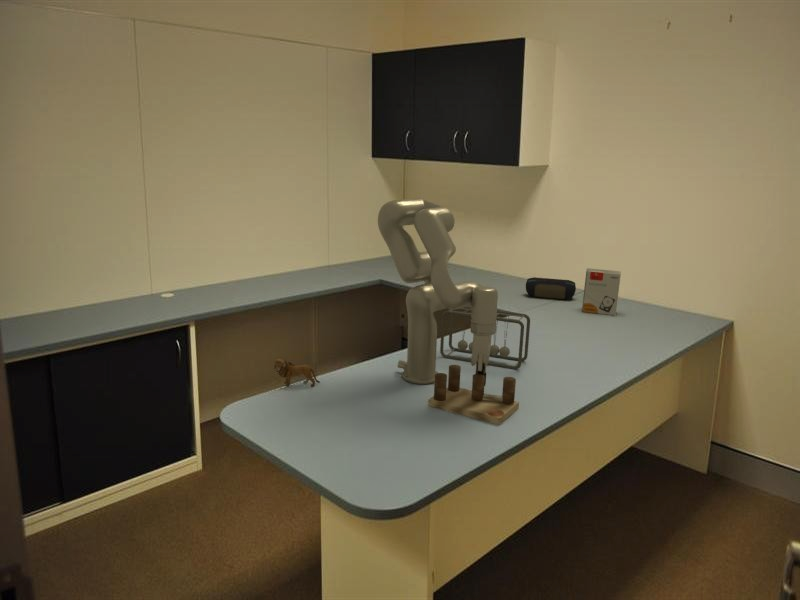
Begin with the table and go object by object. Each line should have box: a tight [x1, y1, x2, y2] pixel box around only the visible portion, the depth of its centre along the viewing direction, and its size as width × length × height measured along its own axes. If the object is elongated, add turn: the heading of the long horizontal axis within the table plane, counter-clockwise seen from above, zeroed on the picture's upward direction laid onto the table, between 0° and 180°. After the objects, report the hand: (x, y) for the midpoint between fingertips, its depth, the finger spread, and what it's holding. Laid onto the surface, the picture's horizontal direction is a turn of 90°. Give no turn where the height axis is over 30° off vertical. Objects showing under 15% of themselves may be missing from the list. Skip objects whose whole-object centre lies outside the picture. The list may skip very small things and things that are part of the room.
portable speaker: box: [525, 276, 577, 301], centre depth 331 cm, size 25×10×10 cm, turn 75°
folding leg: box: [471, 374, 517, 404], centre depth 191 cm, size 13×4×7 cm, turn 78°
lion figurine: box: [272, 358, 321, 388], centre depth 205 cm, size 15×5×9 cm, turn 102°
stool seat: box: [427, 364, 520, 425], centre depth 191 cm, size 23×14×10 cm, turn 58°
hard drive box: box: [581, 267, 622, 316], centre depth 304 cm, size 16×8×20 cm, turn 73°
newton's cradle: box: [439, 306, 531, 370], centre depth 233 cm, size 30×10×18 cm, turn 66°
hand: (480, 384), depth 199 cm, fingers closed
